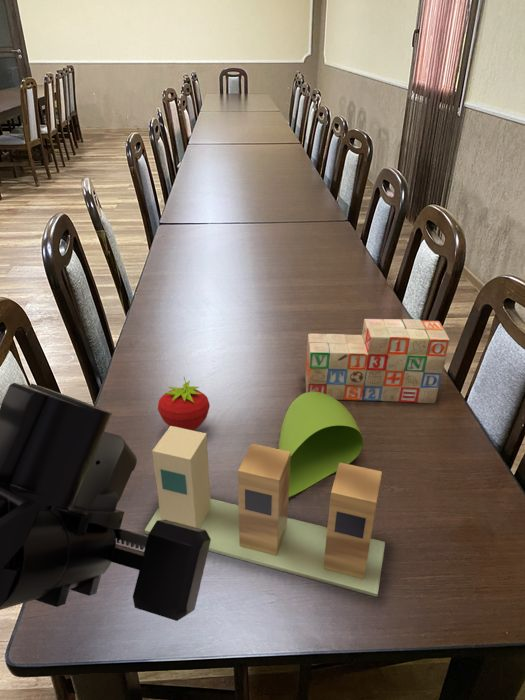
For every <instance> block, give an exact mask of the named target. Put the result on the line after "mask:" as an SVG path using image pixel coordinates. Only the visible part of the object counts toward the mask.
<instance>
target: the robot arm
mask: <svg viewBox="0 0 525 700" xmlns="http://www.w3.org/2000/svg"><path fill="white" fill-rule="evenodd" d="M112 415H113V412H110V411H109V410H107V409H103V408H102V407H101V408H100V407H99V406H96V405H94V404H91V403H88V402H85V401H83V400H81V399H77V398H75V397H72V396H70V395H67V394H64V393H61V392H58V391H55V390H53V389H50V388H47V387H44V386H41V385H37V384H35V383H30V385H28V384H24V383H22V384H21V383H20V384H19V383H17V382H12V383H11V384H9V386H8V388H7V390H6V392H5V395H4V396H3V399H2V401H1V404H0V611H1V610H5V609H9V608H12V607H15V606H18V605H22V604H25V603H28V602H31V601H37V602H40V603H43V604H46V605H49V606H52V607H56V608H58V607H61V606H64V605H66V603H67V599H68V596H69V592H70V591H73V592H76V593H78V594H82V595H85V596H89V597H91V596H93V595H96V594H97V593H98V590H99V585H100V581H101V578H102V575H104V574H105V573H106V572H107V571H108V569H109V568H110V566H111V565H112V563H114V564H117V565H120V566H124V567H127V568H130V569H133V570H137V571H138V575H137V578H136V581H135V586H134V589H133V594H132V600H133V606H134V609H137V610H140V611H144V612H146V613H150V614H153V615H156V616H159V617H162V618H165V619H169V620H171V621H175V622H178V621H180V620H181V619H183V618H185V617H186V616H187V615H190V614H191V613H192V612H194V611H195V609H196V605H197V601H198V597H199V594H200V593H199V592H200V589H201V588H200V587H201V584H202V580H203V576H204V570H205V567H206V563H207V559H208V554H209V551H208V550H209V545H210V541H211V539H210V537H209V535H208V533H207V531H206V530H203V529H200V528H196V527H192V526H188V525H185V524H181V523H177V522H172V521H168V520H157V521H156V523H155V525H154V526H153V528H152V529H151V531H150V533H149V534H146V535H145V534H142V533H138V532H135V531H131V530H127V529H124V528H121V526H122V523H123V520H124V516H125V511H124V510H120V509H117V506H118V503H119V501H121V498H122V495H123V494H124V491H125V489H126V487H127V484H128V482H129V480H130V477H131V475H132V473H133V472H134V471H135V468H136V466H137V463H138V458H137V455H136V454H135V452H134V451H133V450H132V449H131V448H130V446H129V444H127V442H126V441H125V439H123V437H122V436H121V435H119V434H115V433H111V432H107V431H106V430H107V427H108V425H109V423H110V420H111V418H112ZM124 545H125V546H124ZM128 546H130V547H128ZM134 547H135V548H134ZM138 549H139V550H138ZM142 550H144V551H142Z"/></svg>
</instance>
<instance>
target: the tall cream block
mask: <svg viewBox="0 0 525 700" xmlns="http://www.w3.org/2000/svg"><path fill="white" fill-rule="evenodd" d="M151 451H152V460H153V468H154V475H155V482H156V491H157V499H158V508H159V507H160V515H161V520H168V521H172V522H177V523H181V524H185V525H188V526H192V527H196V528H200V526H201V525H202V523H203V521H204V519H205V517H206V515H207V513H208V511H209V509H210V507H211V504H210V499H211V489H210V473H209V471H210V469H209V455H208V454H209V453H208V452H209V451H208V436H207V432H201V431H197V430H195V431H192V430H188V429H183V428H179V427H174V426H169V427H168V428H167V429H166V431H165V433H164V434H163V435H162V437H161V438H160V439H159V441H158V442H157V444H156V445H155V447H154V448H153V449H152V450H151Z"/></svg>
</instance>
